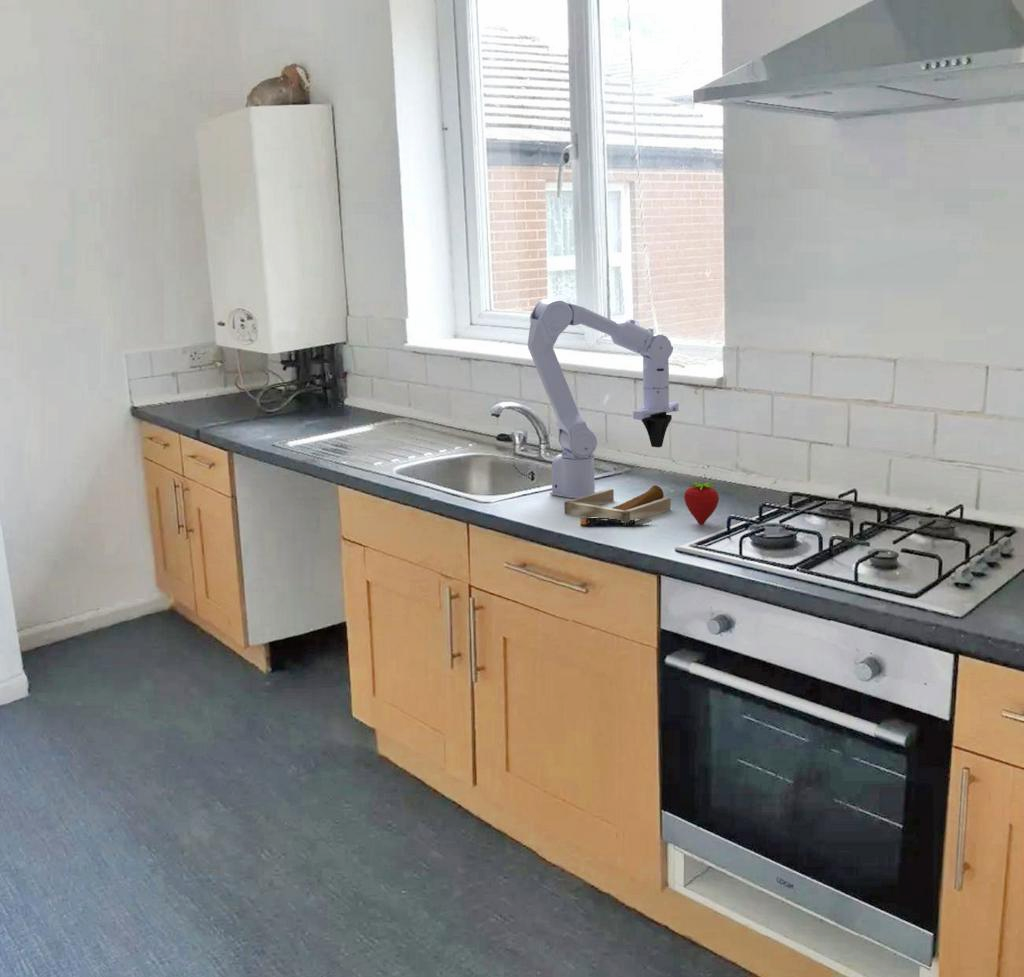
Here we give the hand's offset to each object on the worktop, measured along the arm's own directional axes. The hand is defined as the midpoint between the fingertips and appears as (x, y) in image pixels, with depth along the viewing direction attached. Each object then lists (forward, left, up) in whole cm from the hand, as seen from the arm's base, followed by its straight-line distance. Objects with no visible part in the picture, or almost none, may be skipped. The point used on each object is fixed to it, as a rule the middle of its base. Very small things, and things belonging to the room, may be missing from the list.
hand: (656, 446), depth 249 cm
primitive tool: (+8, -19, -10) cm, 23 cm away
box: (+7, -23, -9) cm, 26 cm away
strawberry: (+27, -22, -10) cm, 36 cm away
